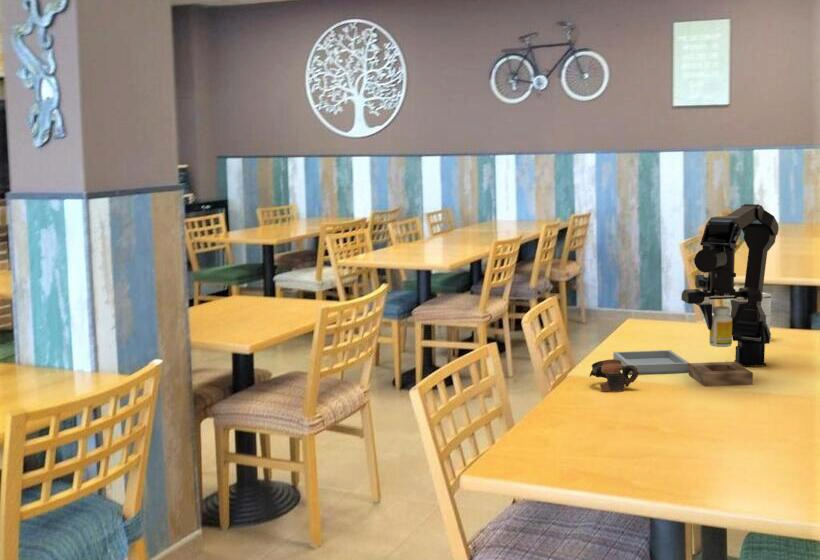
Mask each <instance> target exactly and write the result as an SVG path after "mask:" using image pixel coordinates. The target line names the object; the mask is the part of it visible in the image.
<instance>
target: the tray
mask: <svg viewBox="0 0 820 560" xmlns="http://www.w3.org/2000/svg"><path fill="white" fill-rule="evenodd" d="M612 353H613V356H612V357H613V359H616V360H620V361H621V365H623V366H627V365H633V366H635V367H636V368H637V371H638V372H639V374H638V375H659V374H660V375H661V374H662V375H663V374H689V363H690V362H689V361H687V360H686V359H684V358H683V357H681V356H680V355H679V354H677V353H675V352H674V351H673V350H671V349H665V350H664V349H662V350H640V351H639V350H637V351H635V350H633V351H632V350H631V351H613V352H612ZM632 373H633V372H632V371H630V372H629V374H628V376H632Z"/></svg>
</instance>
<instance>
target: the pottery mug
mask: <svg viewBox="0 0 820 560" xmlns="http://www.w3.org/2000/svg"><path fill="white" fill-rule="evenodd" d="M591 368H592V370H590V373H589V377H595V378H604V379H606V381H605V382H601V383H600V384H599V386H600V391H601V392H602V393H606V392H607V393H608V392H611V391H613V392H625V387H626V388H628V387H629V386H630V384H631V383H634V382H635V381H637V379H638V376H639V375H640V374H639V372H638V371H637V368H636V367H635V366H633V365H627V366H623V365H621V361H620V360H616V359H604V360H600V361H596V362H594V363H592V364H591ZM621 371H622V372H621ZM630 371H632V372H633V373H632V375H630V377H629V372H630Z"/></svg>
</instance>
